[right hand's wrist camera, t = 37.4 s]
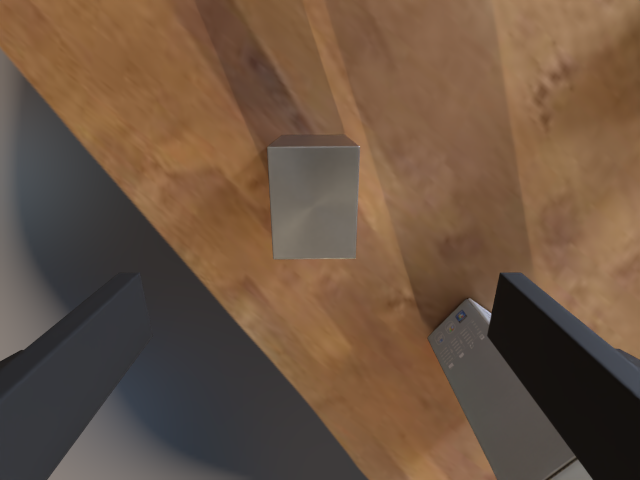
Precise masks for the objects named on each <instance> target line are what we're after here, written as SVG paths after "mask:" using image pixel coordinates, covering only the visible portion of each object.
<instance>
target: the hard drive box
mask: <svg viewBox="0 0 640 480" xmlns="http://www.w3.org/2000/svg"><path fill="white" fill-rule="evenodd" d="M490 319H491V313H490V312H488V311H487V310H486V309H484V308H483V307H481V306H480V305H479V304H477V303H476V302H475V301H473V300H472V299H471V298H469V299H465V301H464V302H463V303H461V304H460V305H459V306H458V308H457V309H456V310H455V311H453V312H452V313H451V314H450V315H449V316H448V317H447V318H446V319H445V320H444V321H443V322H442V323H441V324H440V325H439V326H438V327H437V328H436V329H435V330H434V331H433V332H432V333H431V334H430V335H429V337H428V340H429V342H430V345H431V347H432V349H433V351H434V353H435V355H436V357H437V359H438V361H439V363H440V365H441V367H442V369H443V371H444V373H445V375H446V377H447V379H448V381H449V383H450V385H451V387H452V389H453V391H454V393H455V395H456V397H457V399H458V401H459V403H460V405H461V407H462V409H463V411H464V413H465V415H466V417H467V419H468V421H469V423H470V425H471V427H472V429H473V431H474V433H475V435H476V437H477V439H478V441H479V444H480V446H481V448H482V450H483V452H484V454H485V456H486V458H487V460H488V462H489V464H490V466H491V468H492V470H493V472H494V474H495V476H496V478H497V480H593V479H592V478H591V477H590V475H589V474H588V473H587V471H586V470H585V468H584V467H583V466H582V464H581V463H580V462H579V460H578V459H577V458H576V456H575V455H574V453H573V452H572V451H571V449H570V448H569V447H568V445H567V444H566V443H565V441H564V440H563V439H562V437H561V436H560V434H559V433H558V432H557V430H556V429H555V428H554V426H553V425H552V424H551V422H550V421H549V420H548V418H547V417H546V415H545V414H544V413H543V411H542V410H541V409H540V407H539V406H538V405H537V403H536V402H535V400H534V399H533V398H532V396H531V395H530V394H529V392H528V391H527V390H526V388H525V387H524V386H523V384H522V383H521V381H520V380H519V379H518V377H517V376H516V375H515V373H514V372H513V371H512V369H511V368H510V367H509V365H508V364H507V362H506V361H505V360H504V358H503V357H502V356H501V354H500V353H499V352H498V350H497V349H496V347H495V346H494V345H493V343H492V342H491V341H490V339H489V338H488V337H487V333H488V328H489V324H490Z"/></svg>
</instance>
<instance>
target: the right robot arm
mask: <svg viewBox="0 0 640 480" xmlns="http://www.w3.org/2000/svg"><path fill="white" fill-rule="evenodd" d="M152 337H153V333H152V328H151V324H150V319H149V314H148V309H147V304H146V299H145V295H144V290H143V285H142V280H141V275H140V273H118V274H117V275H116V276H114V277H113V278H112V279H111V280H109V281H108V282H107V283H106V284H104V285H103V286H102V287H101V288H100V289H98V290H97V291H96V292H95V293H93V294H92V295H91V296H90V297H88V298H87V299H86V300H85V301H84V302H82V303H81V304H80V305H79V306H77V307H76V308H75V309H74V310H73V311H71V312H70V313H69V314H68V315H66V316H65V317H64V318H63V319H61V320H60V321H59V322H58V323H57V324H55V325H54V326H53V327H52V328H50V329H49V330H48V331H47V332H46V333H44V334H43V335H42V336H41V337H39V338H38V339H37V340H36V341H35V342H33V343H32V344H31V345H30V346H28V347H27V348H26V349H25V350H20V351H19V352H17V353H15V354H13V355H11V356H9V357H7V358H6V359H4V360H2V361H0V480H47V479H48V478H49V477H50V475H51V474H52V472H53V471H54V470H55V468H56V467H57V466H58V464H59V463H60V462H61V460H62V459H63V457H64V456H65V455H66V453H67V452H68V451H69V449H70V448H71V447H72V445H73V444H74V443H75V441H76V440H77V439H78V437H79V436H80V434H81V433H82V432H83V430H84V429H85V428H86V426H87V425H88V424H89V422H90V421H91V420H92V418H93V417H94V415H95V414H96V413H97V411H98V410H99V409H100V407H101V406H102V405H103V403H104V402H105V400H106V399H107V398H108V396H109V395H110V394H111V392H112V391H113V390H114V388H115V387H116V386H117V384H118V383H119V381H120V380H121V379H122V377H123V376H124V375H125V373H126V372H127V371H128V369H129V368H130V366H131V365H132V364H133V362H134V361H135V360H136V358H137V357H138V356H139V354H140V353H141V352H142V350H143V349H144V347H145V346H146V345H147V343H148V342H149V341H150V339H151V338H152ZM487 337H488V338H489V339H490V341H491V342H492V343H493V345H494V346H495V347H496V349H497V350H498V352H499V353H500V354H501V356H502V357H503V358H504V360H505V361H506V362H507V364H508V365H509V367H510V368H511V369H512V371H513V372H514V373H515V375H516V376H517V377H518V379H519V380H520V381H521V383H522V384H523V386H524V387H525V388H526V390H527V391H528V392H529V394H530V395H531V396H532V398H533V399H534V400H535V402H536V403H537V405H538V406H539V407H540V409H541V410H542V411H543V413H544V414H545V415H546V417H547V418H548V420H549V421H550V422H551V424H552V425H553V426H554V428H555V429H556V430H557V432H558V433H559V434H560V436H561V437H562V439H563V440H564V441H565V443H566V444H567V445H568V447H569V448H570V449H571V451H572V452H573V453H574V455H575V456H576V458H577V459H578V460H579V462H580V463H581V464H582V466H583V467H584V468H585V470H586V471H587V473H588V474H589V475H590V477H591V478H592V479H593V480H640V360H639V359H637V358H635V357H634V356H632V355H630V354H628V353H626V352H624V351H622V350H620V349H614V348H613V347H612V346H610V345H609V344H608V343H607V342H606V341H604V340H603V339H602V338H601V337H599V336H598V335H597V334H596V333H594V332H593V331H592V330H591V329H590V328H588V327H587V326H586V325H585V324H583V323H582V322H581V321H580V320H579V319H577V318H576V317H575V316H574V315H572V314H571V313H570V312H569V311H567V310H566V309H565V308H564V307H563V306H561V305H560V304H559V303H558V302H556V301H555V300H554V299H553V298H552V297H550V296H549V295H548V294H547V293H545V292H544V291H543V290H542V289H540V288H539V287H538V286H537V285H536V284H534V283H533V282H532V281H531V280H529V279H528V278H527V277H526V276H524V275H523V274H522V273H500V275H499V280H498V285H497V290H496V295H495V299H494V304H493V309H492V314H491V319H490V324H489V328H488V333H487Z"/></svg>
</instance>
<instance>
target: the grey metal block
mask: <svg viewBox="0 0 640 480" xmlns="http://www.w3.org/2000/svg"><path fill="white" fill-rule="evenodd" d="M267 155H268V174H269V192H270V210H271V228H272V246H273V259H355V258H356V238H357V211H358V185H359V158H360V146H358V145H357V144H356V143H355V142H353V141H352V140H351V139H350V138H348V137H347V136H346V135H281V136H280V137H279V138H278V139H276V140H275V141H274V142H273V143H271V144H270V145H269V146H268V147H267Z"/></svg>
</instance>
